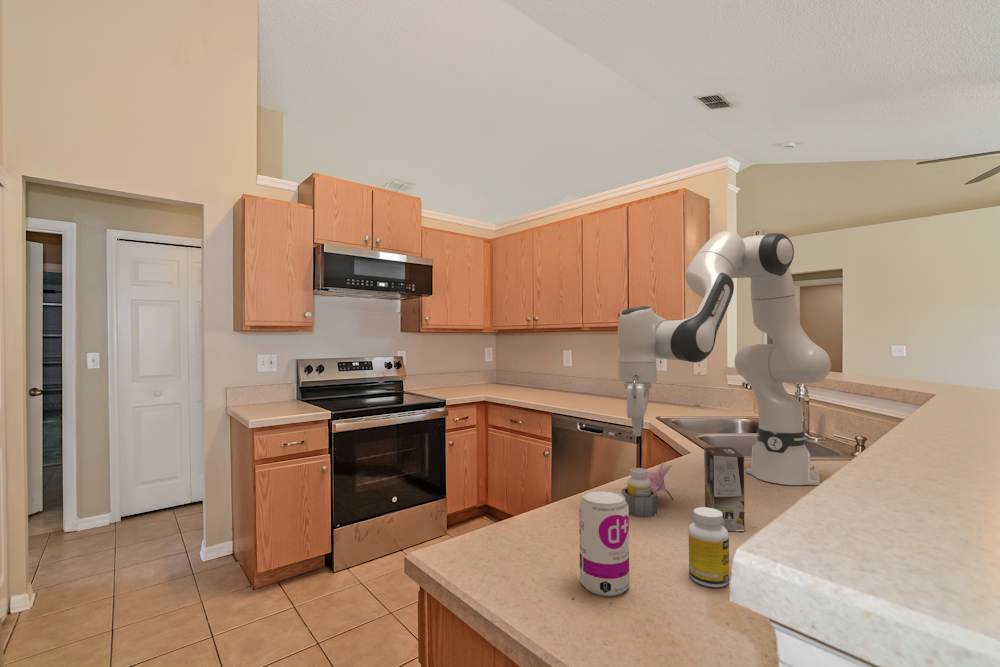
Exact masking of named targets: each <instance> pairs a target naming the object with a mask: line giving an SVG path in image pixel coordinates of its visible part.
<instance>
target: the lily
mask: <svg viewBox="0 0 1000 667" xmlns="http://www.w3.org/2000/svg"><path fill="white" fill-rule="evenodd" d="M664 463H665V462H664V461H663V462H662V463H661V464H660V465H659V467H658V468H657V470H656V472H655V471H647V472H648V477H647V479H649V480H650V482H651V489H652V490H654V491H656V492H657V493H659V492H660V493H661V492H666V493H667V494H668V495H669V497H670V499H671V501H674V498H673V497H672V495H671V493H670V492H669V490H667V488H666V484H665V477H666V476H667V474H668V473H669V471H670V470H671V469H672V467H673V464H669V465H666V466H665V467H664V465H665V464H664Z"/></svg>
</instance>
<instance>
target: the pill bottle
mask: <svg viewBox="0 0 1000 667" xmlns="http://www.w3.org/2000/svg"><path fill="white" fill-rule="evenodd" d="M693 520H694V522H692V523H691V524H690V525H689V527H688V529H687V532H688V574H689V576H690V578H691V579H692V580H693V581H694V582H695V583H698V584H700V585H702V586H704V587H709V588H721V587H724V586H726V585H728V584H729V582H730V534H729V531H727V530H726V528H725V527H723V526H722V525H721V523H722V522H723V513H722V512H721V511H719V510H716V509H713V508H707V507H705V506H701V507H696V508H694V509H693Z"/></svg>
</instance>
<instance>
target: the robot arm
mask: <svg viewBox="0 0 1000 667" xmlns="http://www.w3.org/2000/svg"><path fill="white" fill-rule="evenodd" d="M794 255H795V249H794V245H793V242H792V240H791V239H790V238H789V237H788V236H787V235H786V234H783V233H777V232H773V233H772V232H771V233H766V234H759V235H758V234H757V235H752V236H746V237H743V238H742V237H741V236H740V235H739V234H737V233H736V232H733V231H728V230H725V231H724V230H723V231H719V232H717V233H715V234H714V235H713V236H712V237H710V239H708V240H707V242H705V243H704V245H702V247H701V248H700V249H699V250H698V251H697V252H696V254H695V255H694V257H693V258H692V260H691V261H690V263H689V264H688V266H687V269H686V271H685V281H686V284H687V285H688V287H689V289H690V290H691V291H692V292H693V293H694V294H696V295H697V296H699V297H700V298H702V300H701V302H700V305H699V307H698V309H697V311H696V313H695V314H694V315H692V316H690V317H687V318H684V319H683V318H682V319H666V318H663V317H662V316H660V315H658V314H657V313H656V312H654V311H653V308H652V307H651V306H647V305H646V306H645V305H644V306H637V307H631V308H627V309H625V310H623V311H622V312H621V313H620V315H619V317H618V323H617V325H618V326H617V345H618V346H617V347H618V348H619V356H618V360H617V361H618V362H617V363H618V367H617V368H618V382H620V383H623V388H624V389H625V390H626V417H627V418H628V419H629V420H631V426H632V435H633V436H634V437H641V435H642V429H643V428H644V423H645V422H644V418H645V415H646V411H647V408H648V405H649V397H650V390H651V389H652V383H655V382H657V380H658V378H657V377H658V376H657V359H662V360H675V361H683V362H688V363H700V362H703V361H704V360H705V359H707V358H708V356H710V355H711V353H712V352H713V350H714V347H715V344H716V339H717V334H718V331H719V329H720V326H721V323H722V321H723V319H724V317H725V314H726V312H727V310H728V308H729V305H730V303H731V301H732V297H733V295H734V289H735V283H734V281H733V279H742V278H743V279H746V278H748V279H750V300H751V309H752V310H751V311H752V319H753V324H754V326H755V327H756V329H758V330H759V331H761V332H763V333H765V334H766V335H768V337H770V339H771V340H772V342H773V344H771V343H769V344H767V343H766V344H765V343H761V344H760V343H759V344H758V343H757V344H751V345H746V346H745V345H744V346H742V347H740V348H739V349H738V350H737V352H736V354H735V357H734V361H733V362H734V368H735V370H736V372H737V373H738V374H739V375H740V376H741V377H742V378H743V379H744V380H745V381H746V382H747V383H748V385H749V386H750V387H751V390H752V391H753V393H754V396H755V399H756V403H757V410H758V427H757V430H756V437H757V442H756V443H755V444H754V445H752V446H751V447H752V448H751V465H750V467H747V468H746V469H745V473H747V474H749V475H752V476H753V477H755V478H756V479H758V480H761V481H764V482H767V483H768V482H769V483H772V484H777V485H787V486H805V485H808V486H809V485H810V486H819V484H820V485H821V481H820V480H821V479H820V478H821V477H820V469H819V468H815V466H814V465H812V464H811V453H810V451H809V449H808V447H807V446H806V434H805V429H804V418H803V414H804V413H803V412H804V410H803V405H802V403H801V401H800V400H799V399H797V398H796V397H794V396H793V395H791V394H790V393H789V392H788V391H787V390H786V388H785V386H784V383H787V384H802V385H803V384H812V383H813V384H814V383H819V382H823V381H825V379H826V378H827V377H828V376H829V373H830V371H831V368H832V363H831V358H830V355H829V354H828V353H827V351H825V349H824V348H822V347H821V346H819V345H818V344H816V343H815V342H813V340H811V338H809V336H808V335H807V333H806V332H805V331H804V328H802V324H801V322H800V318H799V315H798V308H797V301H796V300H797V299H796V292H795V285H794V280H793V276H792V273H791V270H790V266H791V265H792V262H793V260H794Z"/></svg>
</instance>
